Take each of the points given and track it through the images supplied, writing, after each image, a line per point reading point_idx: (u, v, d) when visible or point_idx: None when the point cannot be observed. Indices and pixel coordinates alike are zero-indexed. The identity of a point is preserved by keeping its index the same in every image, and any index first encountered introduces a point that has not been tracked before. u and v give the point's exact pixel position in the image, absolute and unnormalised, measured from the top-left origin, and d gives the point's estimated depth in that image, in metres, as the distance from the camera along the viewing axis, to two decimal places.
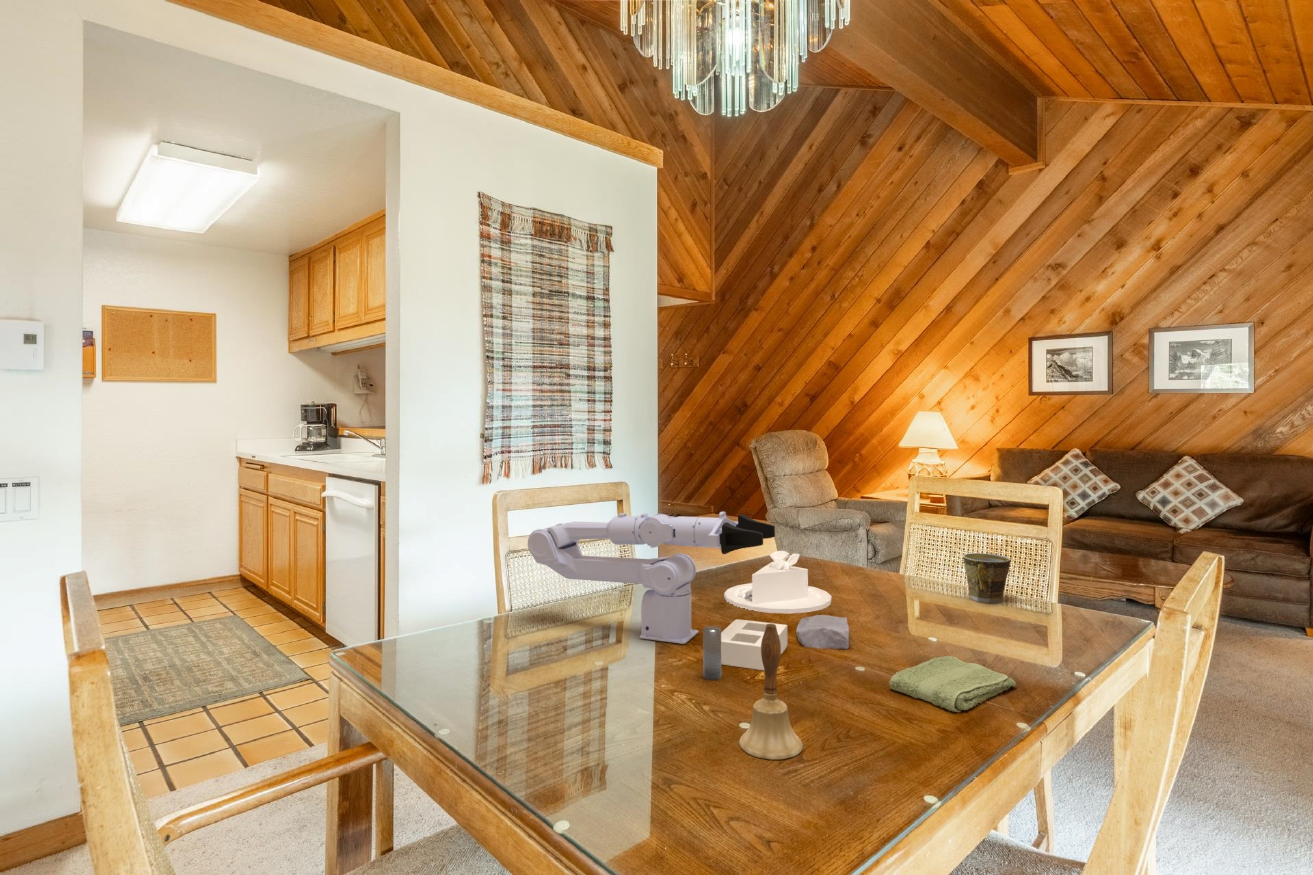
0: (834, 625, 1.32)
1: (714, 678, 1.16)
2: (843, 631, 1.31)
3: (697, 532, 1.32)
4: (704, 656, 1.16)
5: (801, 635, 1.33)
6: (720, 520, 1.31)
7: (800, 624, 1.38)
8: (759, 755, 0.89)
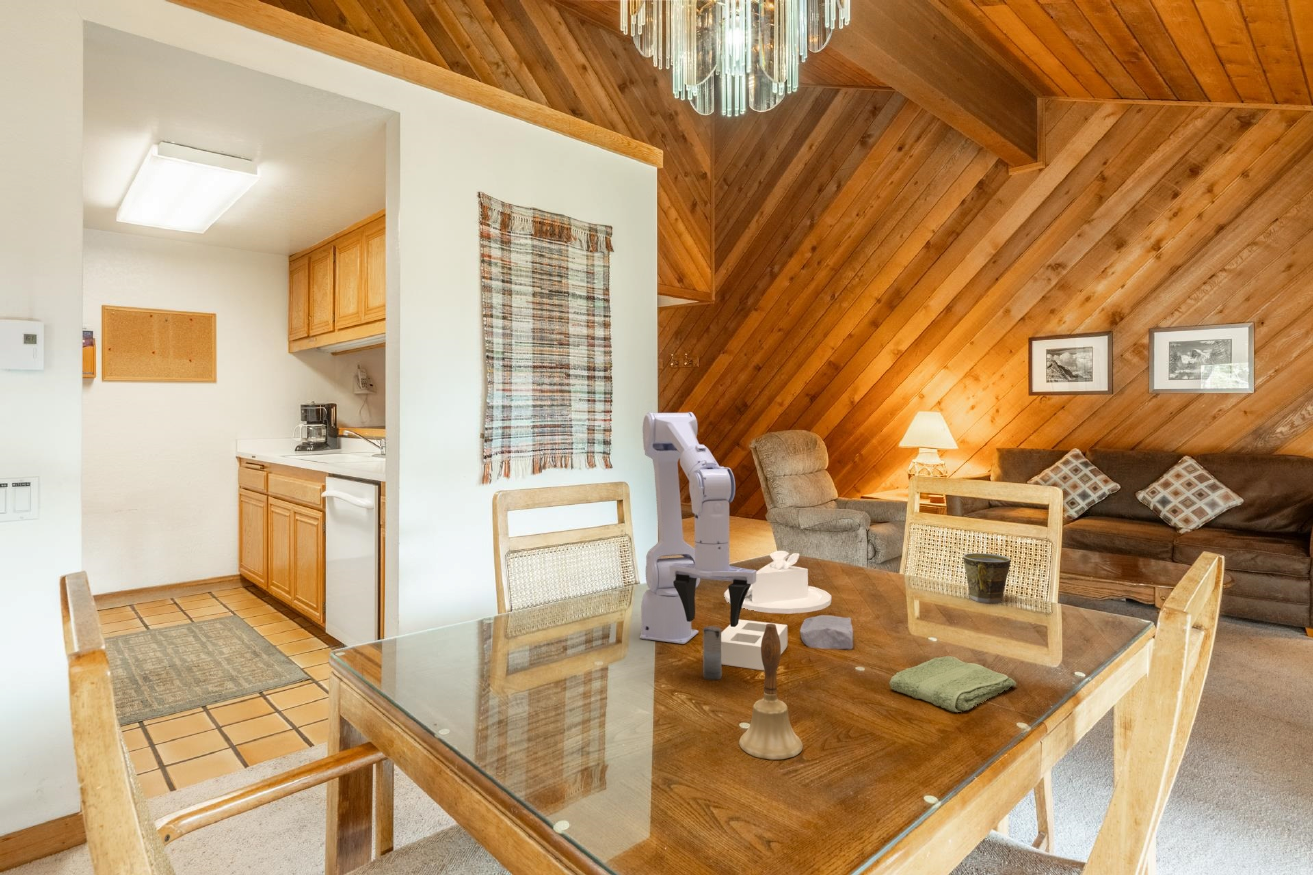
0: (838, 626, 1.32)
1: (714, 678, 1.16)
2: (847, 631, 1.30)
3: None
4: (704, 656, 1.16)
5: (805, 635, 1.32)
6: (697, 572, 1.15)
7: (804, 624, 1.38)
8: (759, 755, 0.89)
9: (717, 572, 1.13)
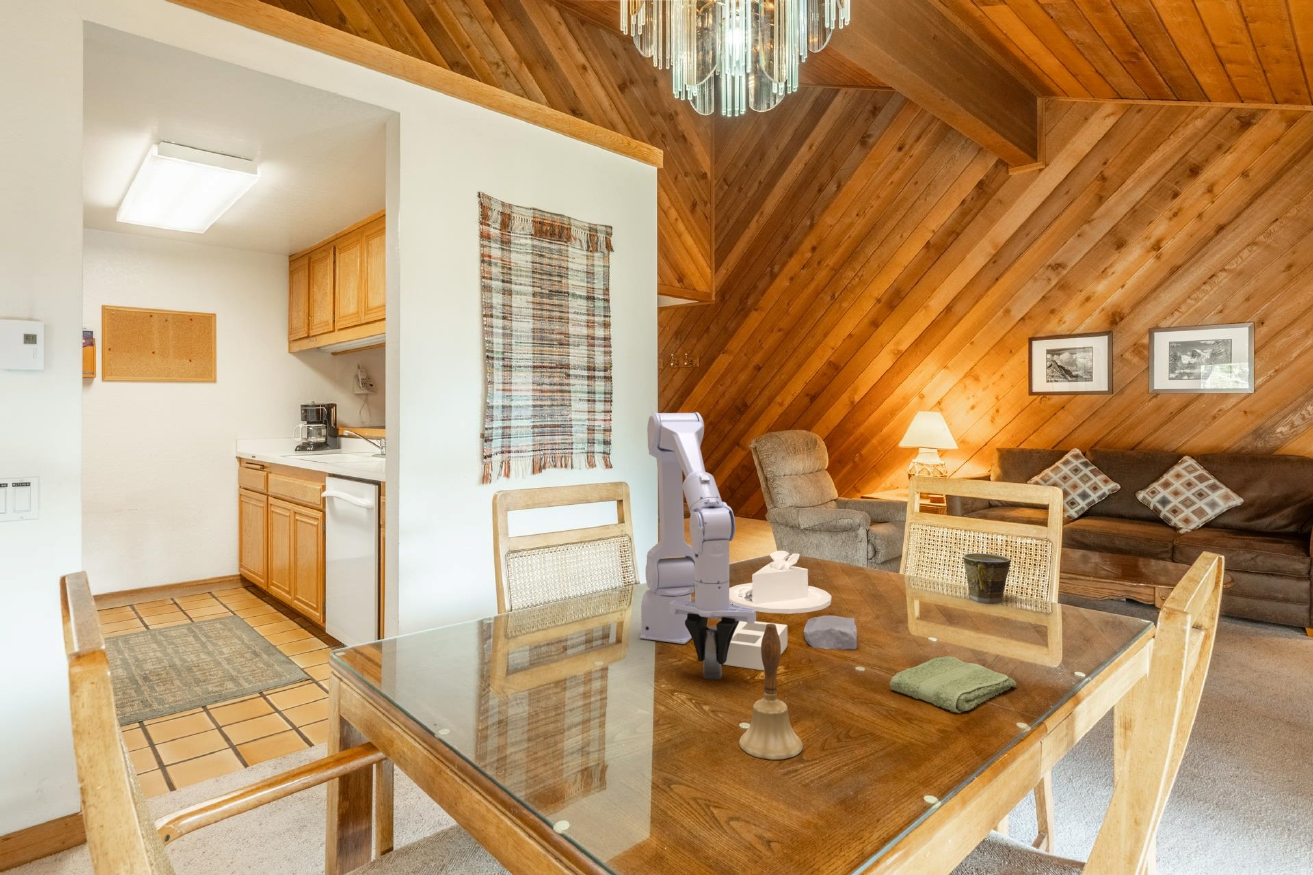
0: (842, 626, 1.31)
1: (714, 678, 1.16)
2: (851, 631, 1.30)
3: None
4: (704, 656, 1.16)
5: (809, 636, 1.32)
6: (697, 611, 1.15)
7: (807, 625, 1.38)
8: (759, 755, 0.89)
9: (717, 612, 1.14)
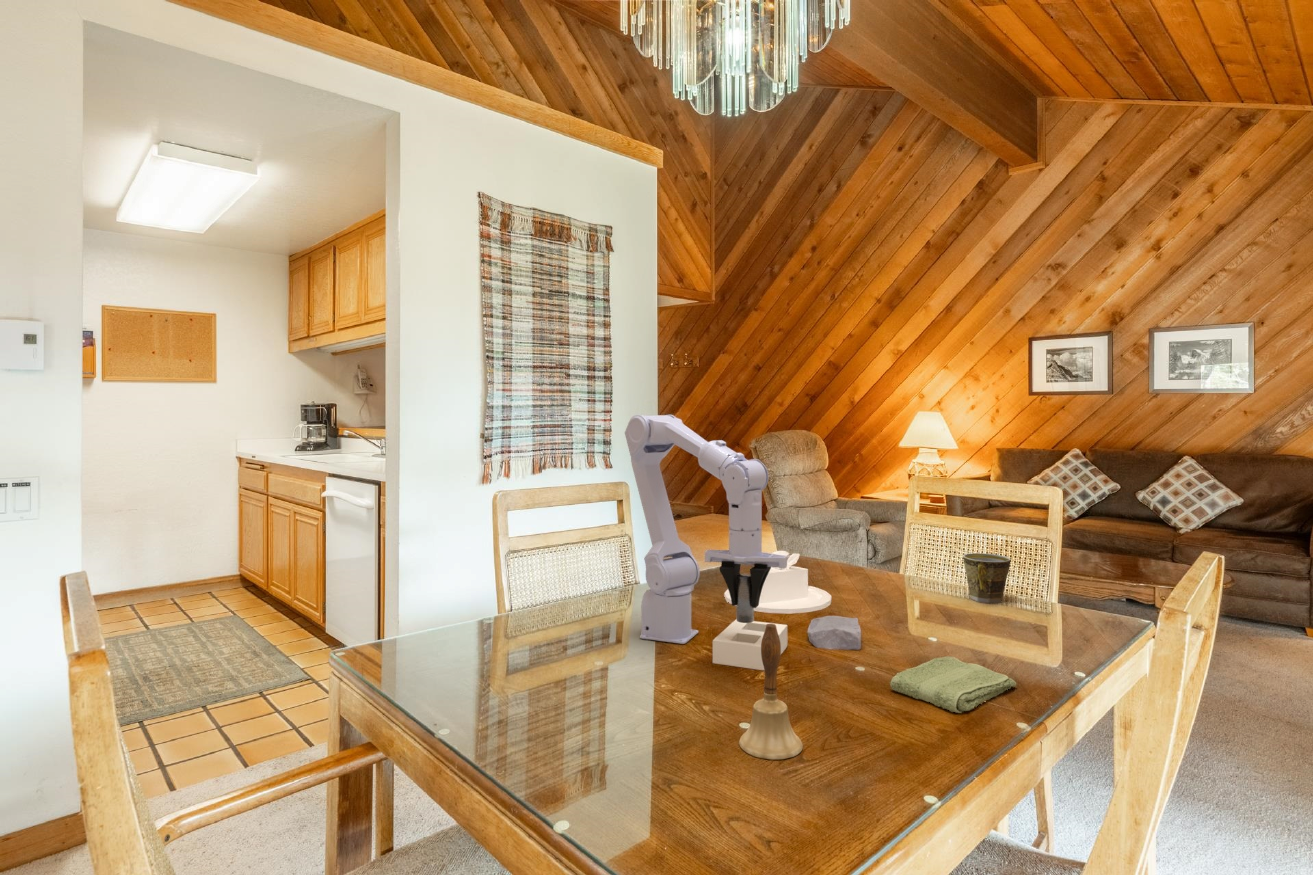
0: (846, 626, 1.31)
1: (747, 621, 1.23)
2: (855, 631, 1.30)
3: None
4: (737, 601, 1.23)
5: (813, 636, 1.32)
6: (732, 558, 1.22)
7: (811, 625, 1.38)
8: (759, 755, 0.89)
9: (751, 557, 1.21)
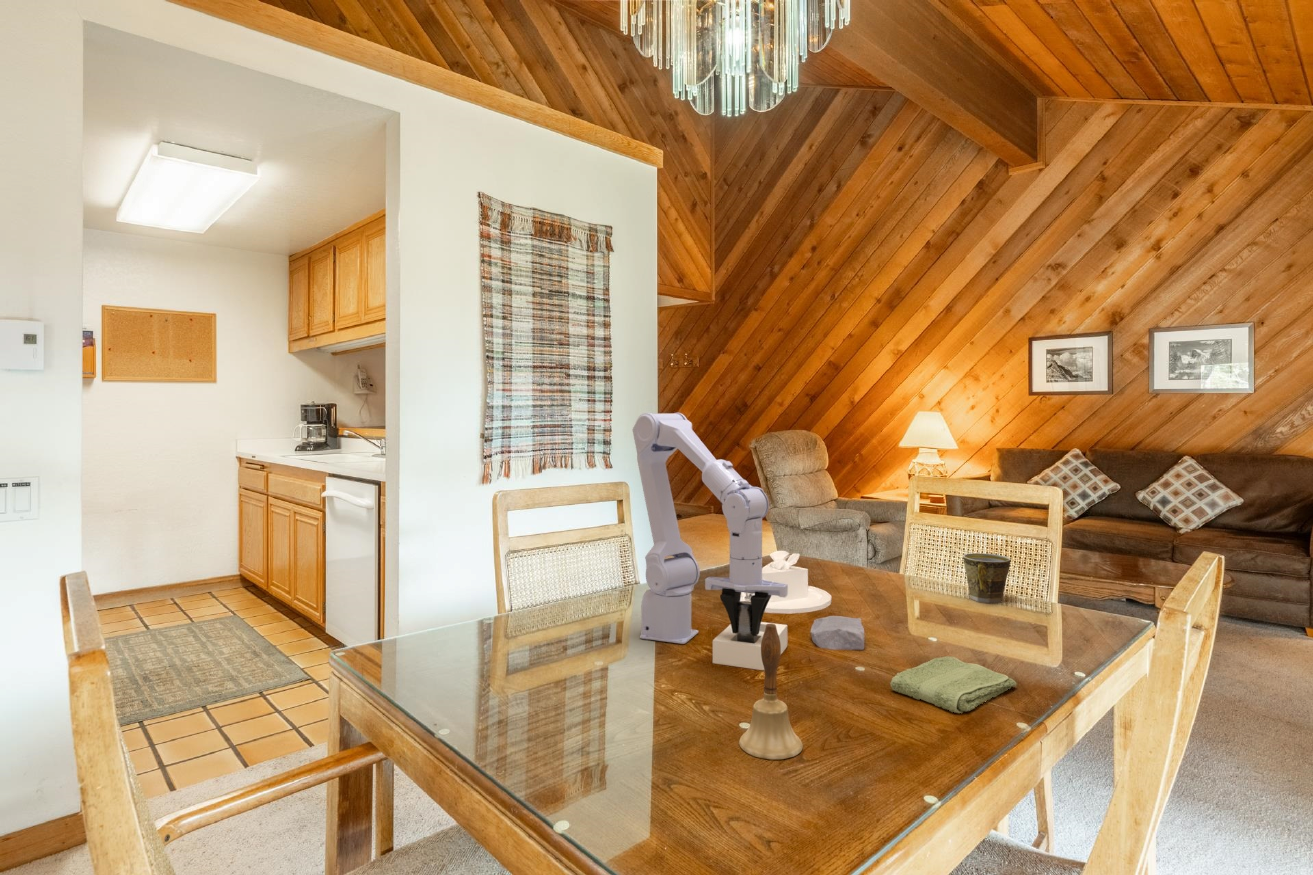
0: (849, 626, 1.31)
1: None
2: (858, 632, 1.30)
3: None
4: (738, 629, 1.24)
5: (816, 636, 1.32)
6: (732, 586, 1.22)
7: (814, 625, 1.38)
8: (759, 755, 0.89)
9: (751, 586, 1.21)
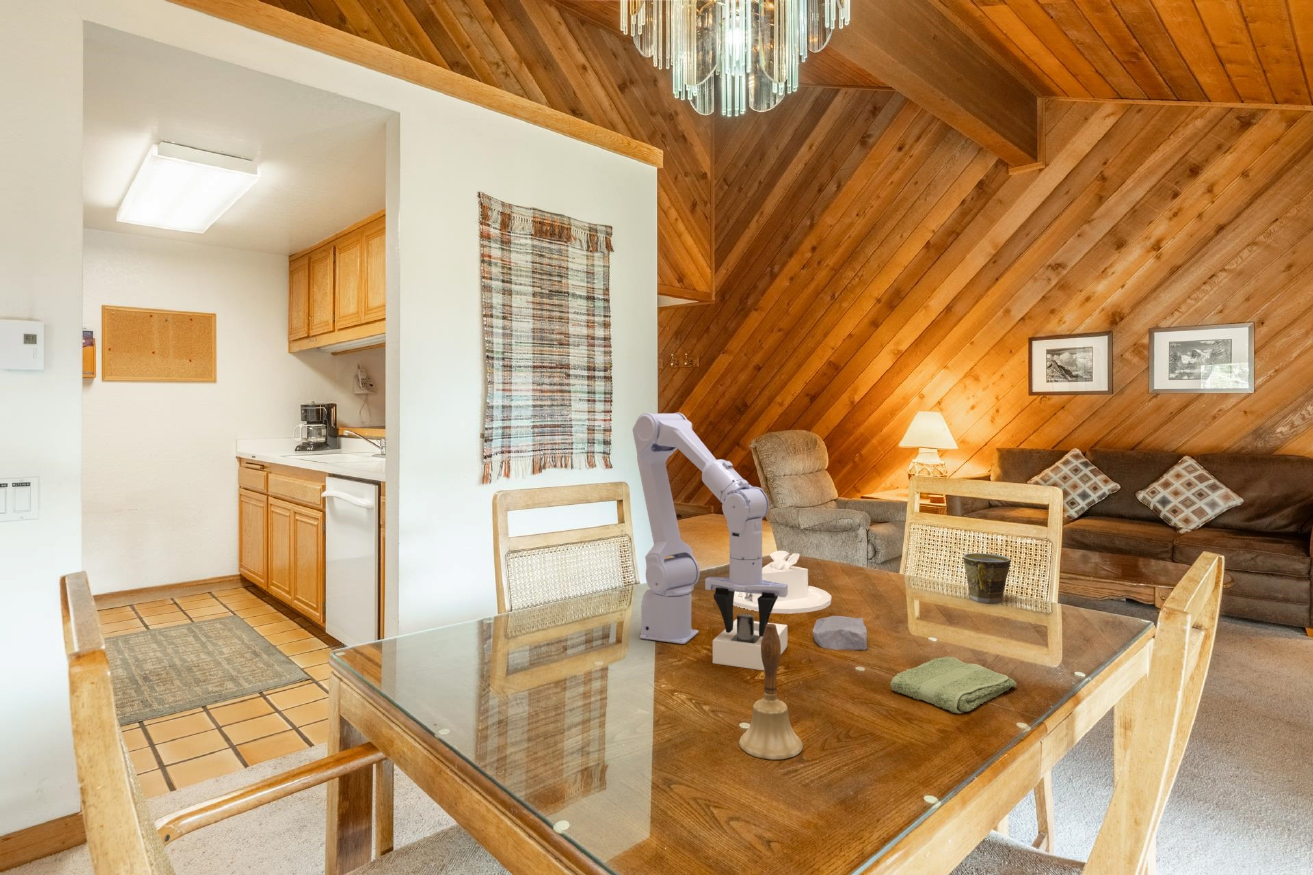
0: (852, 626, 1.31)
1: None
2: (861, 632, 1.30)
3: None
4: None
5: (819, 636, 1.32)
6: (732, 586, 1.22)
7: (816, 625, 1.38)
8: (759, 755, 0.89)
9: (751, 586, 1.21)
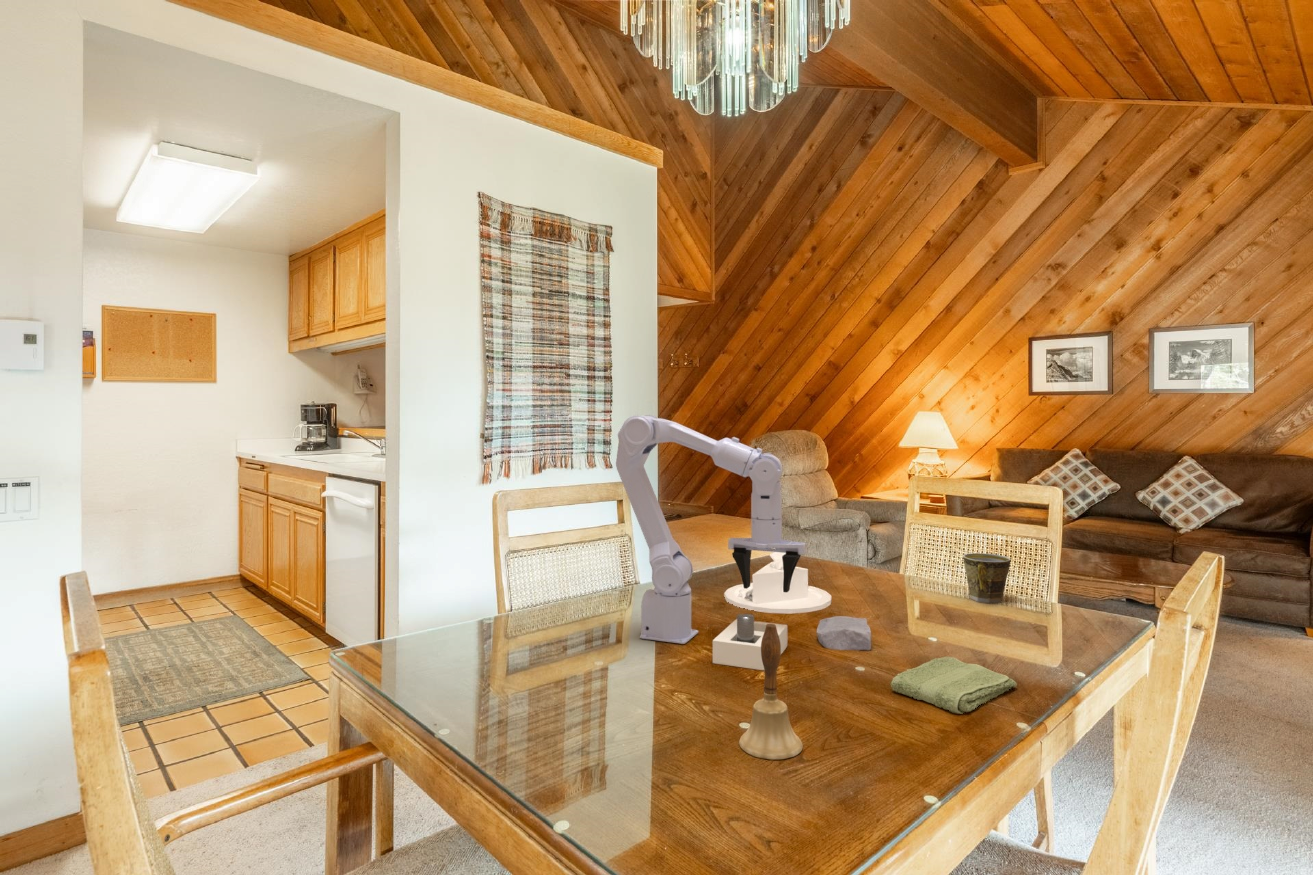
0: (856, 626, 1.31)
1: None
2: (865, 632, 1.30)
3: None
4: None
5: (823, 637, 1.32)
6: (754, 545, 1.31)
7: (820, 625, 1.38)
8: (759, 755, 0.89)
9: (772, 544, 1.30)
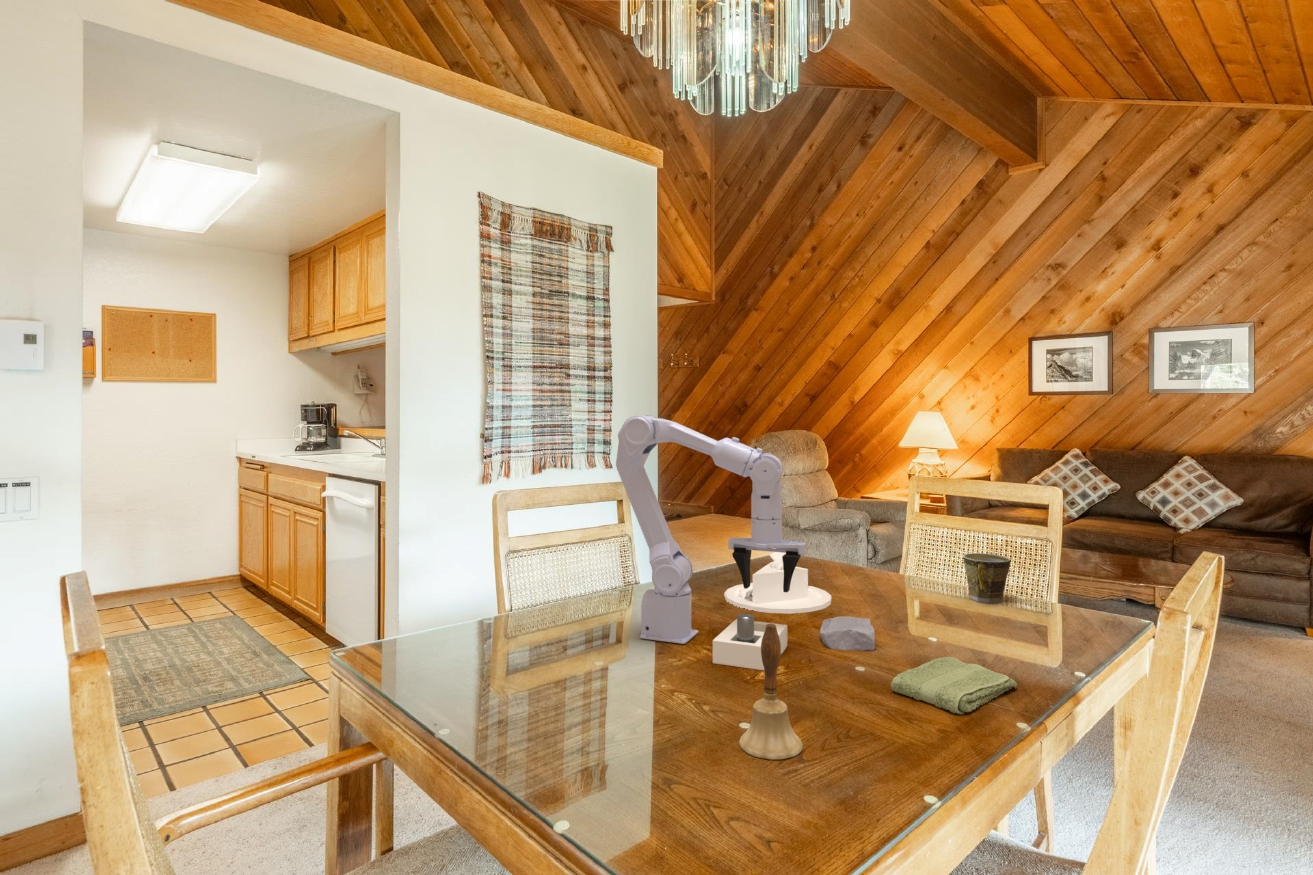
0: (860, 627, 1.31)
1: None
2: (869, 632, 1.30)
3: None
4: None
5: (826, 637, 1.31)
6: (754, 545, 1.31)
7: (823, 626, 1.37)
8: (759, 755, 0.89)
9: (772, 544, 1.30)
